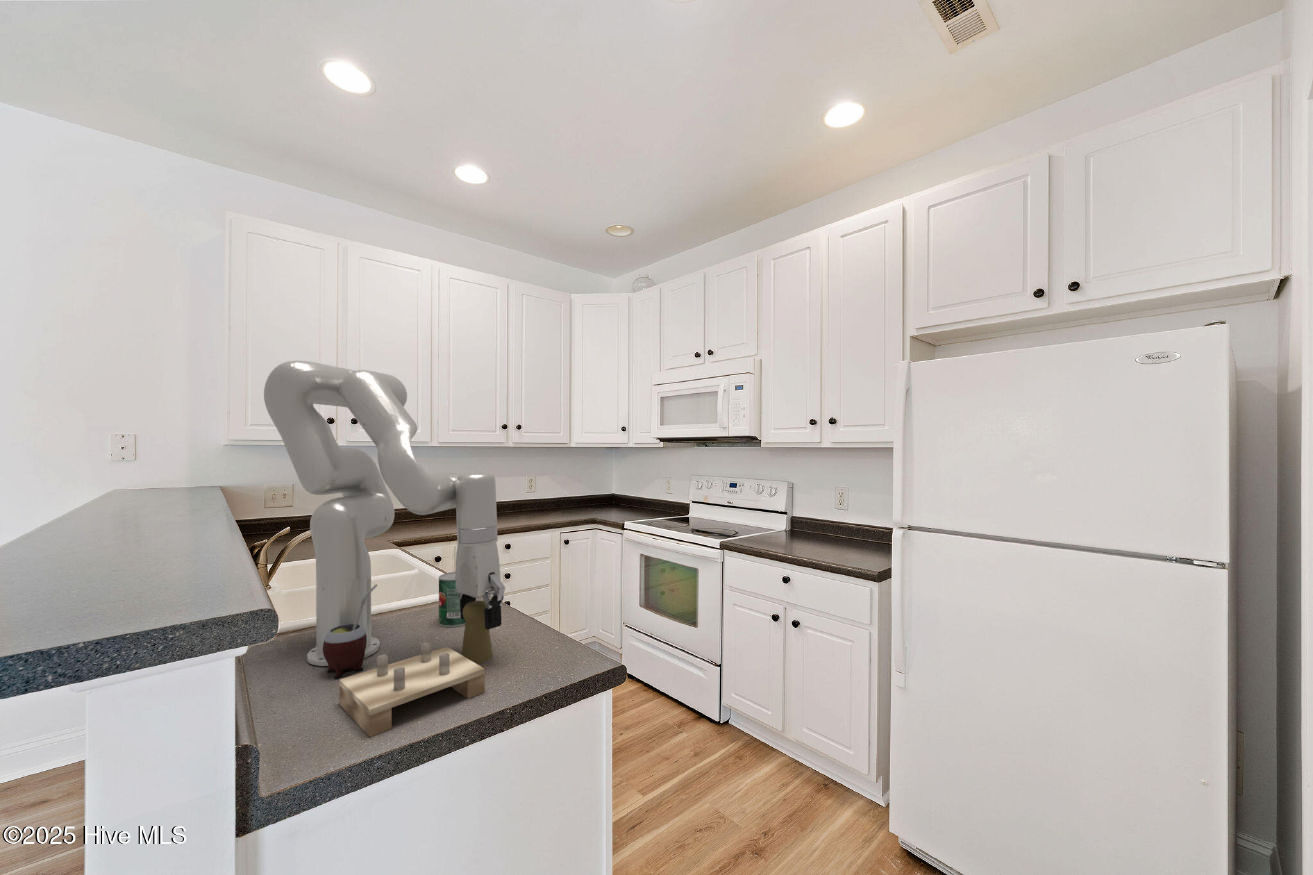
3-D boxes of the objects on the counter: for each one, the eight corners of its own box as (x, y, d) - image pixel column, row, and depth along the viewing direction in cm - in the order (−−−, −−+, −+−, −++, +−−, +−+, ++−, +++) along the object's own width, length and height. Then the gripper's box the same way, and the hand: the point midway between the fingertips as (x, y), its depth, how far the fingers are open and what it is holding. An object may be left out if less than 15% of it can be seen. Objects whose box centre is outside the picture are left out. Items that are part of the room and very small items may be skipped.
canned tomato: (433, 621, 123) (433, 575, 123) (466, 613, 128) (466, 569, 128) (445, 630, 117) (445, 581, 117) (479, 621, 122) (479, 575, 122)
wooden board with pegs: (339, 703, 84) (339, 661, 84) (447, 667, 97) (447, 630, 97) (369, 737, 74) (369, 688, 74) (484, 692, 88) (484, 650, 88)
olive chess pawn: (496, 651, 105) (496, 597, 105) (487, 664, 99) (487, 606, 99) (466, 652, 104) (466, 597, 105) (456, 664, 98) (455, 607, 99)
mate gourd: (314, 680, 92) (314, 597, 92) (338, 662, 100) (338, 584, 100) (357, 679, 93) (357, 596, 93) (378, 660, 101) (378, 583, 101)
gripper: (439, 534, 105) (442, 618, 105) (481, 543, 93) (485, 638, 93) (473, 528, 110) (476, 608, 110) (518, 536, 99) (521, 626, 98)
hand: (480, 622), depth 102 cm, fingers open, 9 cm apart
